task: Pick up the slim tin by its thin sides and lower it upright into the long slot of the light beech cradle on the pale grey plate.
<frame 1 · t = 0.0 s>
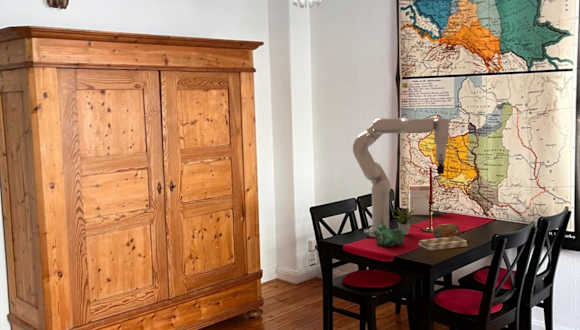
hand: (440, 172, 325), 37 cm above the table, tool pointing down, fingers open, 9 cm apart
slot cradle: (442, 245, 317), on the table
house plant: (404, 234, 341), on the table
mineral: (388, 245, 320), on the table
tin: (445, 239, 330), on the table
coffeecake box: (420, 214, 393), on the table
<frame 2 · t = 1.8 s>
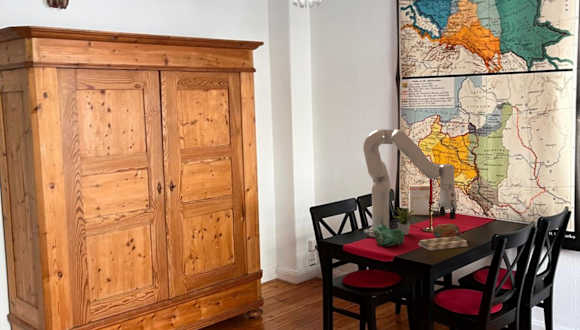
hand: (447, 217, 328), 12 cm above the table, tool pointing down, fingers open, 9 cm apart
nothing on the table moved.
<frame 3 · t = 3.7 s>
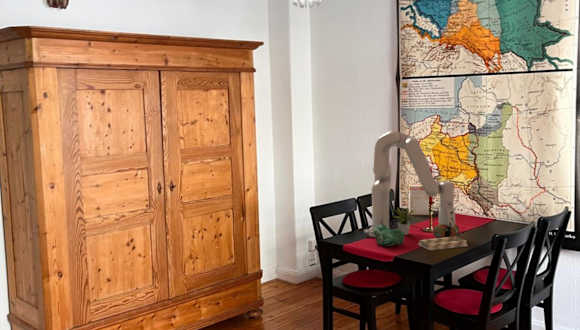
hand: (445, 236, 330), 1 cm above the table, tool pointing down, fingers closed on tin, 2 cm apart
tin: (445, 238, 330), on the table, touching gripper
everything else where it was.
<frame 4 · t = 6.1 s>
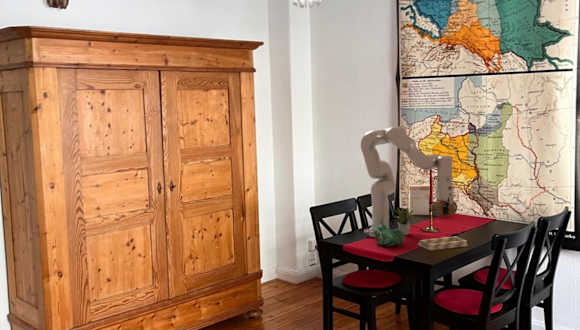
hand: (443, 213, 316), 17 cm above the table, tool pointing down, fingers closed on tin, 2 cm apart
tin: (443, 216, 316), point 15 cm above the table, touching gripper
everything else where it was.
when the fingers open (3 cm above the table, at t = 8.4 s): tin stays where it is, resting on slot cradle.
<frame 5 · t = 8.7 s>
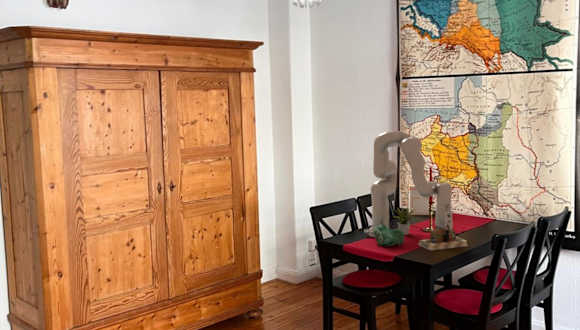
hand: (442, 239, 316), 3 cm above the table, tool pointing down, fingers open, 4 cm apart
tin: (442, 244, 317), resting on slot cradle
everything else where it was.
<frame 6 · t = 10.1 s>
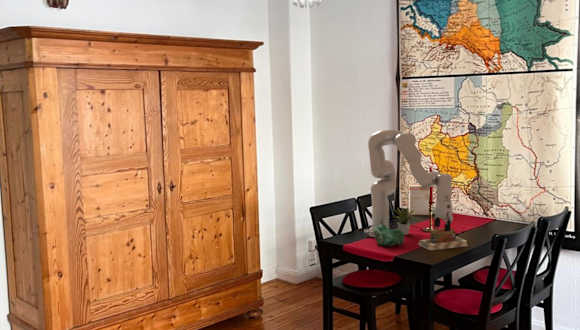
hand: (442, 228, 316), 9 cm above the table, tool pointing down, fingers open, 9 cm apart
nothing on the table moved.
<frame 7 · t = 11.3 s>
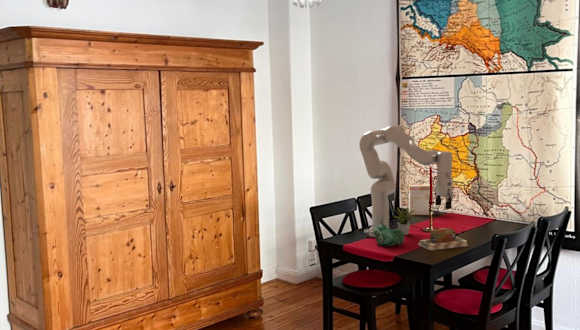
hand: (443, 206, 315), 21 cm above the table, tool pointing down, fingers open, 9 cm apart
nothing on the table moved.
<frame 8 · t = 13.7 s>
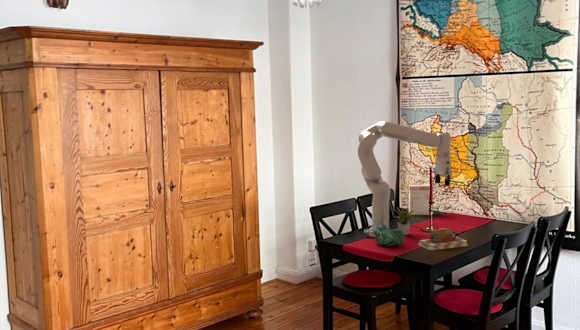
hand: (442, 184, 339), 28 cm above the table, tool pointing down, fingers open, 9 cm apart
nothing on the table moved.
at the end: tin 0.5 cm off-centre on the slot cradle, point 0.4 cm above the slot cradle's base; tin tilted 0°; the gripper is holding nothing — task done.
